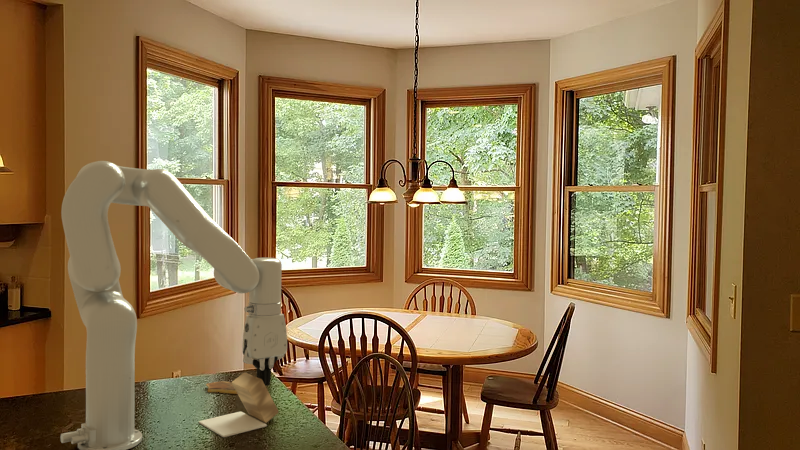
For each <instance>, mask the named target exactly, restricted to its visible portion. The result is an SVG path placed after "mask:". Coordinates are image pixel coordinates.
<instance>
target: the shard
mask: <svg viewBox="0 0 800 450" xmlns="http://www.w3.org/2000/svg"><path fill="white" fill-rule="evenodd" d="M231 382H232V381H231ZM231 382H230V381H224V380H223V381H222V380H219V381H214V382H213V381H212V382H209V383H205V386H206V387H207V393H218V392H219V394H220V393H221V394H231V395H232V394H233V395H238V394H237V392H236V390H235V388H234V386H233V385H232V383H231Z"/></svg>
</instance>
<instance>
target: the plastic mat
mask: <svg viewBox="0 0 800 450" xmlns="http://www.w3.org/2000/svg"><path fill="white" fill-rule="evenodd" d="M198 424H199V425H202V426H203V427H205V428H206V429H209V430H210V431H212V432H213V433H215V434H217V435H218V436H220V437H222V438H227V437H231V436H234V435H238V434H241V433H246V432H250V431H253V430H258V429H261V428H265V427H268V425H267V423H265V422H263V421H261V420H259V419H257V418H255V417H253V416H251V415H249V414H248V413H245V412H243V411H240V410H239V411H236V412H232V413H228V414H223V415H220V416H215V417H211V418H207V419H203V420H199V421H198Z"/></svg>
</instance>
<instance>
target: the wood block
mask: <svg viewBox="0 0 800 450" xmlns="http://www.w3.org/2000/svg"><path fill="white" fill-rule="evenodd" d="M231 383H232V385H233V386H234V388H235V390H236V392H237V394H236V395H237V396H238V398H239V400H240V401H241V403H242V405H243V406H244V408H245V410H246V413H247V415H249V416H251V417H253V418H255V419H257V420H259V421H261V422H263V423H265V424H267V423H268V422H270V420H272V419H273V418H274V417H275V416H276V415H277V414H279V409H278V407H277V406H276V404H275V402H274V399H273V398H272V396H271V394H270V392H269V390H268V388H267V385H266V386H265V384H264V382H263V381H262V379H260V378H258V377H257V376H255V375H253V374H250V373H247V372H246V371H244V372H243V373H241V374H240V375H239V376H237V377H236V378H235V379H234V380H232V381H231Z"/></svg>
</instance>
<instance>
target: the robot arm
mask: <svg viewBox="0 0 800 450" xmlns="http://www.w3.org/2000/svg"><path fill="white" fill-rule="evenodd" d="M111 204H118V205H128V206H140V207H141V206H142V207H148V208H149V209H150V210H151V211H152V212H153V214H154V215H155V216H156V217H158V218H159V220H161V222H162V224H164V225H165V226H166V228H168V230H169V231H170V232H171V233H172V234H173V236H175V239H177V240H178V241H179V242H180V243H181V244H183V246H185V247H186V248H188V249H189V250H191V251H192V252H193V253H195V254H196V255H197V254H198V255H199V256H200V257H201V258H202V259H203V260H205V261H206V262H207V263H208V264H209V265H210V266H211V267H212V268H213V276H214V279H215V281H216V283H217V284H218V285H220V286H221V287H223V288H224V289H227V290H230V291H232V292H235V293H238V294H249V295H248V296H249V297H248V301H249V302H248V305H247V306H245V307H244V312H245V313H248V315H246V317H245V322H244V325H243V334H242V346H241V347H242V354H243V359H242V362H243V363H244V364H245V365H246V364H248V365H252V366H253V367H254V368H255V369H256V377H258V378H260V379H262V381H263V382H264V384H265V386H266V387H269V386H270V385H271V380H272V369H273V368H274V365H275V364H276V363H277V361H279V360H281V359H283V358H285V354H287V351H288V334H287V324H286V318H285V314H284V313H282V268H283V267H282V262H281V260H280V259H278V258H276V257H256V258H251V257H249V255H248V254H247V253H246V252H245V250H243V248H242V247H241V246H240V245H239V244H238V242H237V241H235V240H234V238H232V237H231V236H230V235H229V234H228V233H227V232H226V231H225V230H224V229H223V228H222V227H221V226H220V225H219V224H218V223H217V222H216V221H215V220H214V219H213V218H212V217H211V216H210V214H208V212H206V211H205V210H204V208H203V207H202V206H201V205H200V204H199V202H198V201H197V200H196V199H195V197H194V196H192V194H191V193H190V192H189V191H188V190H187V189H186V187H185V186H184V185H183V184H182V183H181V182H180V180H179V179H178V178H177V177H176V176H175V175H174V174H173V173H172V172H170V171H168V170H166V169H163V168H162V169H161V168H155V169H153V168H152V169H147V168H135V167H128V166H121V165H117V164H116V163H114V162H111V161H107V160H98V161H92V162H89V163H86V165H83V166H82V167H81V168H80V170H79V171H78V173H77V174H76V177H75V178H74V179H73V180H72V182H71V183H70V184H69V186H68V187H67V189H66V191H65V194H64V196H63V200H62V203H61V212H60V214H61V222H62V227H63V232H64V236H65V241H66V245H67V249H68V253H69V258H68V261H67V273H68V278H69V281H70V284H71V288H72V293H73V295H74V300H75V302H76V305H77V309H78V312H79V316H80V319H81V321H82V324H83V325H84V327H85V328H86V344H85V345H86V349H85V422H83V423H81V424H80V425H81V428H77V429H76V430H75V431H68V432H64V433H60V435H59V437H60V442H61V444H64V443H65V444H66V443H69V442H71V444H72V445H74V444H77V449H78V450H129V449H132V448H134V447H136V446H138V445H139V444H140V443H142V440H143V433H142V432H141V431H140V430H138V429H136V428H135V416H136V415H135V410H136V409H135V408H136V407H135V404H136V403H135V401H136V400H135V398H136V397H135V396H136V395H135V387H136V386H135V381H136V380H135V377H136V375H135V372H136V371H135V369H136V368H135V363H136V362H135V360H136V359H135V355H136V342H137V341H136V340H137V331H138V319H137V314H136V311H135V309H134V307H133V305H132V304H131V303H130V302H129V301H128V300H127V299H126V298H124V295H123V292H122V287H121V284H120V280H119V279H120V277H121V271H122V268H121V263H120V260H119V256H118V255H117V251H116V247H115V244H114V243H115V242H114V240H113V237H112V233H111V228H110V223H109V218H108V217H109V214H108V213H109V208H110V206H111Z"/></svg>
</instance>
